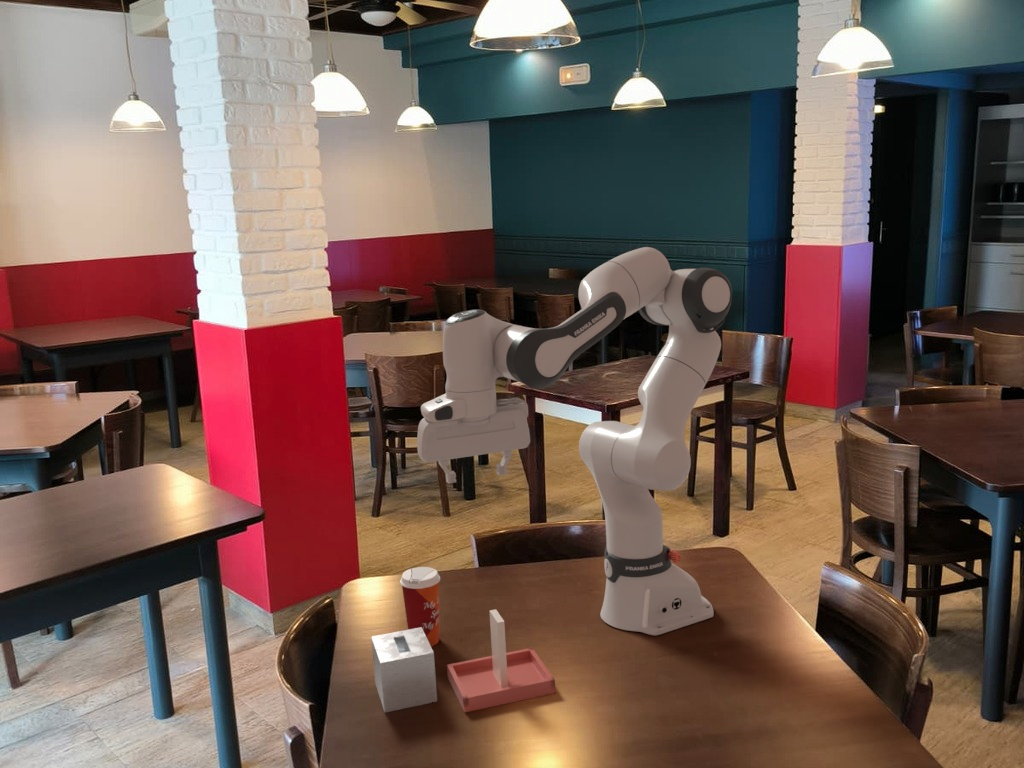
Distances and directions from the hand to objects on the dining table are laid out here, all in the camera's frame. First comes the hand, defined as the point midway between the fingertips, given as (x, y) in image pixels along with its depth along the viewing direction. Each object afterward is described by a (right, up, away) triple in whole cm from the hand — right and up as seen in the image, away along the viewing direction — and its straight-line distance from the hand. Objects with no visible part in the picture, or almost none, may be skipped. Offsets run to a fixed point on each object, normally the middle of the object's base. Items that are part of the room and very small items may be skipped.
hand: (476, 478), depth 160 cm
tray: (+4, -36, -5) cm, 36 cm away
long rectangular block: (+4, -35, -5) cm, 35 cm away
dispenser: (-12, -37, -5) cm, 39 cm away
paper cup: (-11, -33, +13) cm, 37 cm away
